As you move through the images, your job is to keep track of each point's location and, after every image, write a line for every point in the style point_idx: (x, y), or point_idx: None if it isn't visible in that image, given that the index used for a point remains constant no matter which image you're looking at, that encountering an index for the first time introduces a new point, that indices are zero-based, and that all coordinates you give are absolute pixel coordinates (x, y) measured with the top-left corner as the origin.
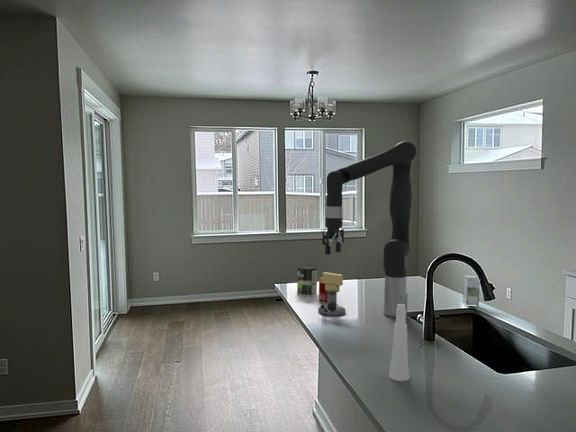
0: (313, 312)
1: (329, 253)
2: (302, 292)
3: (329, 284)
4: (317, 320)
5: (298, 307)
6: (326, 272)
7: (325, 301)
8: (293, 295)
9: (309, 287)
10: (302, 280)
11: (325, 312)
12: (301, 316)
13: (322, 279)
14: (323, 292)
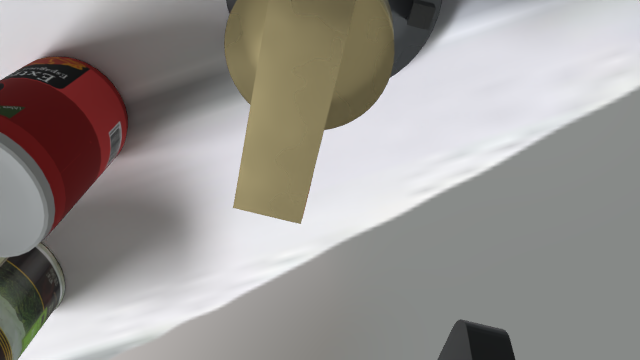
0: (391, 105)
1: (511, 347)
2: (53, 292)
3: (350, 74)
4: (582, 14)
5: (320, 222)
6: (244, 191)
7: (123, 110)
8: (90, 319)
9: (9, 281)
10: (8, 353)
11: (439, 7)
12: (516, 144)
13: (311, 180)
14: (98, 155)
